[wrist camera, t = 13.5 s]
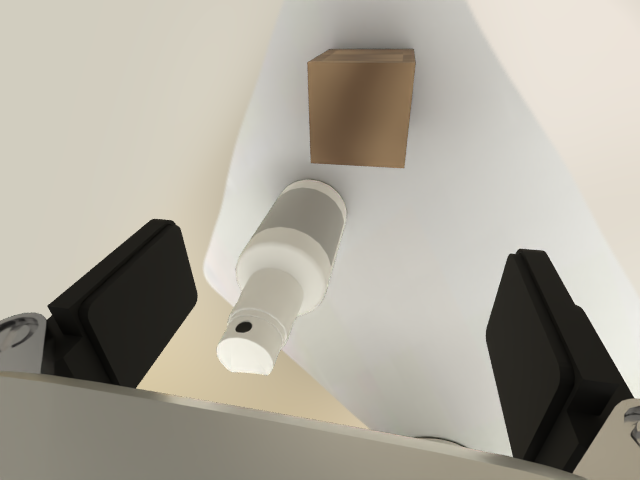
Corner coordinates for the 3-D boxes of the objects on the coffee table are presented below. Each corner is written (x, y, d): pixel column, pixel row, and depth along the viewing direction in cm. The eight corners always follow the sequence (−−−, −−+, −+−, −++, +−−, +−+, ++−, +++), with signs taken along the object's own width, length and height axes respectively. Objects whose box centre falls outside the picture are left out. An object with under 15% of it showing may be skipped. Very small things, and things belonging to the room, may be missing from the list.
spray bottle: (344, 176, 33) (293, 318, 18) (349, 241, 37) (310, 403, 22) (272, 178, 35) (171, 310, 20) (284, 240, 38) (205, 391, 23)
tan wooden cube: (413, 49, 26) (415, 62, 20) (404, 134, 29) (404, 168, 23) (329, 49, 27) (307, 62, 21) (329, 131, 30) (310, 163, 24)
